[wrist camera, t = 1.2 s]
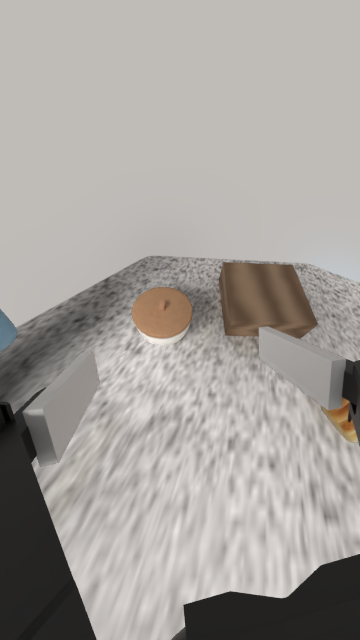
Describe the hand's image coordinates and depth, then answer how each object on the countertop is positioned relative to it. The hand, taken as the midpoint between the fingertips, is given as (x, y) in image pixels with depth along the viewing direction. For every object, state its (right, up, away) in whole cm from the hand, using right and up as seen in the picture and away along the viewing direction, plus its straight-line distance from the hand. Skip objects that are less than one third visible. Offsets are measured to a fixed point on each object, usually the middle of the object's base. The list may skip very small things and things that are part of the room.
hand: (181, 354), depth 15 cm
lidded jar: (-3, 0, +25) cm, 26 cm away
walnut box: (+18, +6, +30) cm, 35 cm away
